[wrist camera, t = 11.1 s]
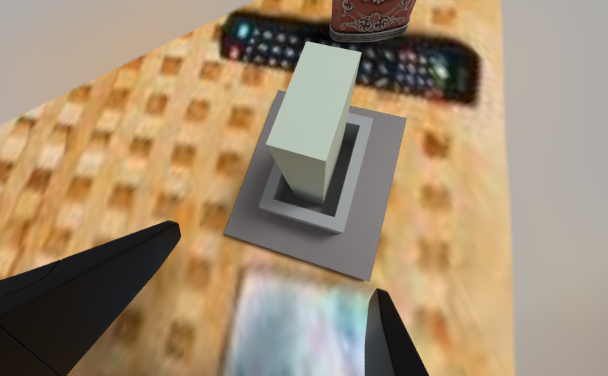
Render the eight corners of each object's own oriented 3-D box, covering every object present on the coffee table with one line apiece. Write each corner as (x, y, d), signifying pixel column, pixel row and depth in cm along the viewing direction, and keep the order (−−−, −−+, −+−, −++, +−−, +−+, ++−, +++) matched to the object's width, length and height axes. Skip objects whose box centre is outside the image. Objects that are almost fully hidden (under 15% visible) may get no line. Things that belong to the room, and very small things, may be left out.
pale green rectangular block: (295, 196, 18) (265, 144, 8) (315, 137, 19) (310, 30, 9) (322, 205, 18) (325, 161, 8) (342, 144, 19) (365, 41, 9)
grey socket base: (228, 233, 19) (204, 231, 15) (280, 96, 22) (271, 65, 18) (366, 279, 17) (380, 290, 13) (402, 124, 20) (422, 95, 16)
